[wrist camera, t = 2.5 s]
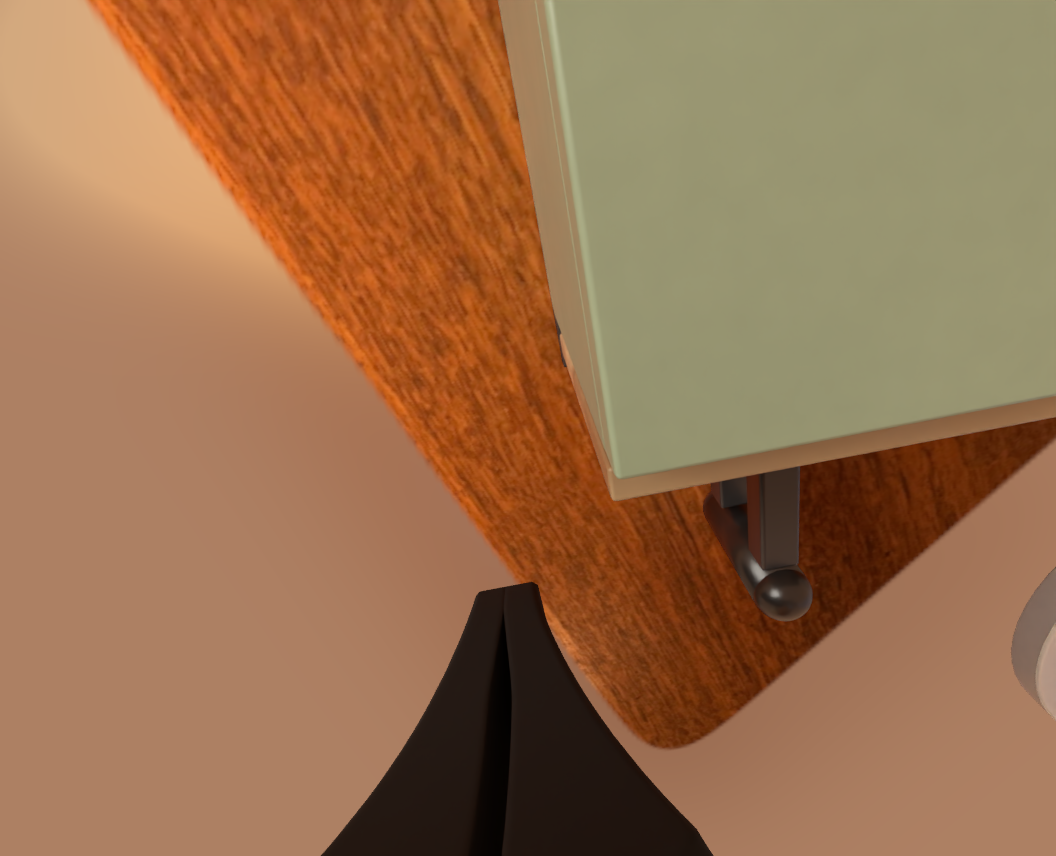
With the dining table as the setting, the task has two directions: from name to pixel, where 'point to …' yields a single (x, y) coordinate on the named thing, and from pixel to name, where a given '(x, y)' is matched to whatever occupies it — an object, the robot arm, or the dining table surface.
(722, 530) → the sliding door
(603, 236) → the cupboard
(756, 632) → the dining table surface
